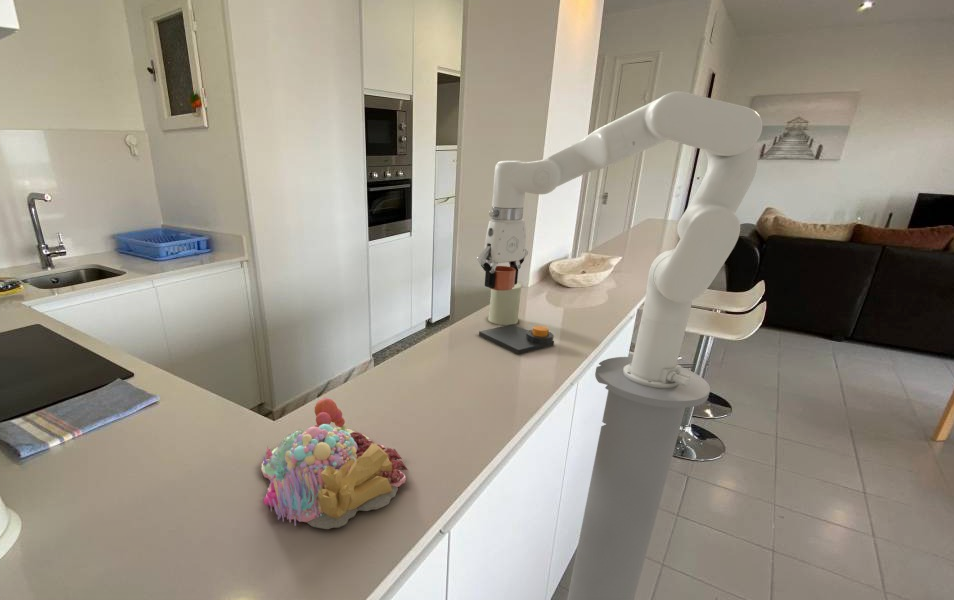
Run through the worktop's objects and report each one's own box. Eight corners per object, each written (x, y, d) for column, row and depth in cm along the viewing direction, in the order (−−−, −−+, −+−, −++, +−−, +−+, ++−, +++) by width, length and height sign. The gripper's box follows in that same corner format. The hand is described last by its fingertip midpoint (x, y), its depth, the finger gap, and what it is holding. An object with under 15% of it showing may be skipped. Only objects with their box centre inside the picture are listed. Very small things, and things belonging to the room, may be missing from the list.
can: (524, 321, 150) (528, 284, 145) (504, 327, 145) (507, 288, 140) (502, 313, 157) (505, 278, 152) (482, 319, 152) (484, 282, 147)
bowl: (519, 288, 123) (521, 269, 121) (499, 292, 120) (501, 272, 118) (501, 283, 128) (502, 264, 126) (481, 286, 125) (483, 267, 123)
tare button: (550, 336, 131) (551, 329, 130) (540, 338, 129) (541, 331, 128) (539, 331, 134) (540, 324, 133) (529, 334, 132) (530, 327, 131)
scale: (557, 345, 131) (558, 335, 130) (519, 355, 125) (520, 344, 124) (515, 327, 144) (516, 318, 143) (478, 335, 138) (479, 326, 137)
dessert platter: (432, 472, 79) (434, 424, 76) (329, 558, 63) (326, 501, 59) (328, 421, 94) (325, 379, 91) (222, 480, 78) (215, 431, 74)
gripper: (490, 218, 110) (484, 293, 117) (543, 213, 118) (535, 284, 125) (469, 215, 116) (465, 286, 123) (521, 210, 124) (515, 278, 131)
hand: (500, 284), depth 124 cm, fingers closed on bowl, 6 cm apart
